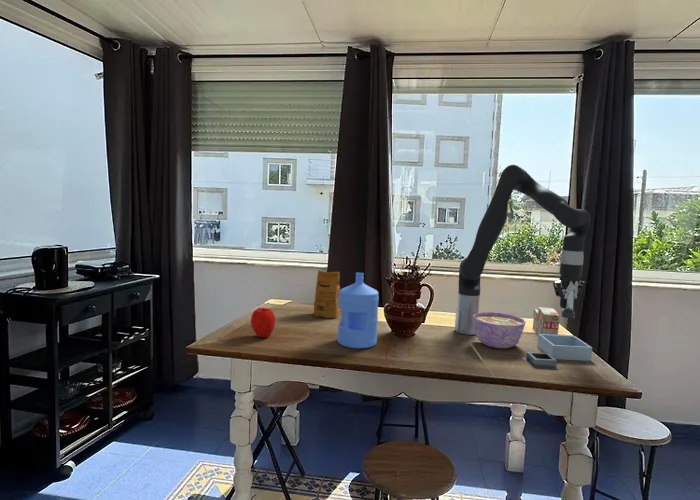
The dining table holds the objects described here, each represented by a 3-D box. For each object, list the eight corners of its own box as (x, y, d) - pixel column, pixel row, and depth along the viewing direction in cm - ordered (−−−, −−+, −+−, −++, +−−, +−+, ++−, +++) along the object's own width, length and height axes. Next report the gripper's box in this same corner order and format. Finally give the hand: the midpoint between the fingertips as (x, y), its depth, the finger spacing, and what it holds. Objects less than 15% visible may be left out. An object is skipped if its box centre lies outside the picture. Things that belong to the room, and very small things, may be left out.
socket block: (531, 370, 149) (532, 360, 148) (521, 359, 159) (522, 350, 158) (561, 371, 148) (562, 362, 148) (549, 361, 158) (549, 352, 158)
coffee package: (317, 311, 216) (318, 268, 213) (341, 314, 213) (343, 270, 210) (310, 316, 206) (312, 271, 204) (335, 319, 203) (337, 273, 201)
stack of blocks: (532, 328, 202) (534, 302, 201) (546, 329, 201) (548, 303, 199) (541, 342, 181) (543, 313, 180) (557, 343, 180) (560, 314, 178)
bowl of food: (465, 337, 183) (467, 311, 182) (513, 339, 182) (515, 313, 181) (478, 354, 163) (480, 324, 162) (531, 356, 163) (534, 326, 161)
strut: (558, 316, 163) (560, 281, 162) (565, 315, 166) (567, 280, 165) (570, 318, 160) (572, 282, 159) (576, 317, 162) (578, 281, 161)
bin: (551, 361, 158) (553, 345, 158) (537, 348, 172) (538, 333, 171) (590, 363, 158) (592, 347, 157) (572, 350, 172) (574, 335, 171)
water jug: (356, 334, 182) (359, 268, 179) (384, 343, 171) (388, 274, 168) (329, 341, 171) (331, 271, 168) (357, 352, 160) (360, 278, 157)
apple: (245, 336, 173) (245, 306, 172) (265, 331, 181) (266, 303, 179) (259, 342, 167) (260, 311, 165) (280, 337, 174) (280, 307, 172)
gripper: (578, 261, 167) (574, 304, 168) (548, 261, 162) (544, 306, 164) (594, 264, 159) (590, 309, 161) (564, 264, 155) (559, 311, 157)
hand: (567, 307), depth 163 cm, fingers closed on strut, 3 cm apart
